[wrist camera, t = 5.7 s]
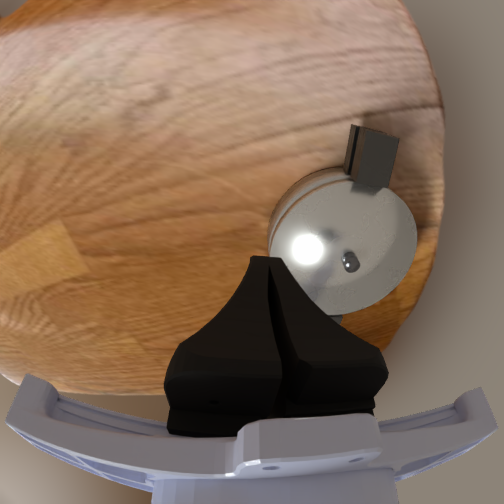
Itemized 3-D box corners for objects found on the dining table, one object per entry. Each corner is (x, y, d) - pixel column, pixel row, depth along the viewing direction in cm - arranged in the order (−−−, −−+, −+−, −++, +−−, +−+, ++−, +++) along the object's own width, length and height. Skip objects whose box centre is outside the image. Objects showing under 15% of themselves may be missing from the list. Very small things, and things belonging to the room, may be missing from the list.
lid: (384, 309, 24) (390, 322, 23) (260, 305, 24) (261, 320, 22) (442, 151, 16) (456, 158, 15) (287, 114, 15) (290, 117, 14)
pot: (371, 303, 27) (380, 324, 25) (258, 298, 27) (259, 322, 24) (423, 142, 19) (444, 152, 16) (282, 111, 18) (287, 114, 15)
